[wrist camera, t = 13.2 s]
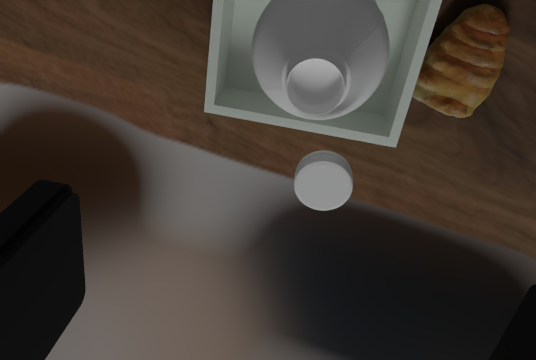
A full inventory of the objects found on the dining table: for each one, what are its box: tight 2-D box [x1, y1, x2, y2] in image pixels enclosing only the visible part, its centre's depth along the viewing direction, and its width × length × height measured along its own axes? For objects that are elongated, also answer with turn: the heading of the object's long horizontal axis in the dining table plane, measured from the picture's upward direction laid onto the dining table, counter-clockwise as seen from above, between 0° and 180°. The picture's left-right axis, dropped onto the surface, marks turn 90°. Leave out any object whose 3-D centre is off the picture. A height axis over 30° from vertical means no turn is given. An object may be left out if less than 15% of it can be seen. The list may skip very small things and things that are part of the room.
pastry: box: [412, 4, 510, 118], centre depth 40 cm, size 9×7×4 cm
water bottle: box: [252, 0, 390, 210], centre depth 29 cm, size 9×6×25 cm
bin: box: [204, 0, 442, 148], centre depth 38 cm, size 17×19×6 cm
